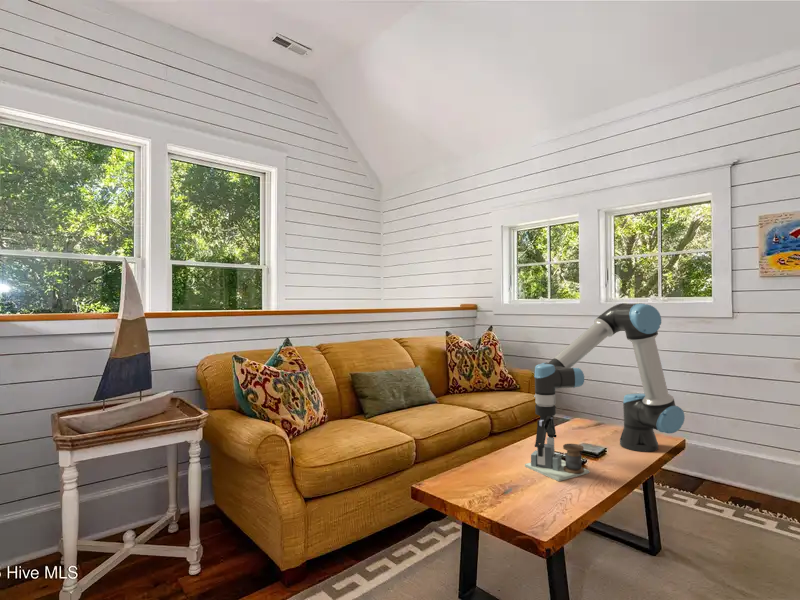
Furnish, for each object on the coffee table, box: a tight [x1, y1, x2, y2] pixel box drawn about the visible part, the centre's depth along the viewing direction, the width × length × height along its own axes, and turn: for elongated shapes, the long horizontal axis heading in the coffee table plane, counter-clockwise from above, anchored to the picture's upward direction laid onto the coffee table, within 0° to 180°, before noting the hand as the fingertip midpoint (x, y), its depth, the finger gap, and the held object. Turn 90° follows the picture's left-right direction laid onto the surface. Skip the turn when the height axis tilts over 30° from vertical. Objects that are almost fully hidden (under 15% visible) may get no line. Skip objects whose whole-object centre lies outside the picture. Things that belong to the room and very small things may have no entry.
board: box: [524, 459, 590, 482], centre depth 184 cm, size 16×18×1 cm
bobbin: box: [562, 443, 584, 474], centre depth 180 cm, size 7×7×9 cm
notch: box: [530, 449, 562, 471], centre depth 185 cm, size 6×10×4 cm, turn 58°
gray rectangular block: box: [538, 443, 555, 469], centre depth 185 cm, size 4×5×8 cm
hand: (546, 459), depth 185 cm, fingers open, 13 cm apart
